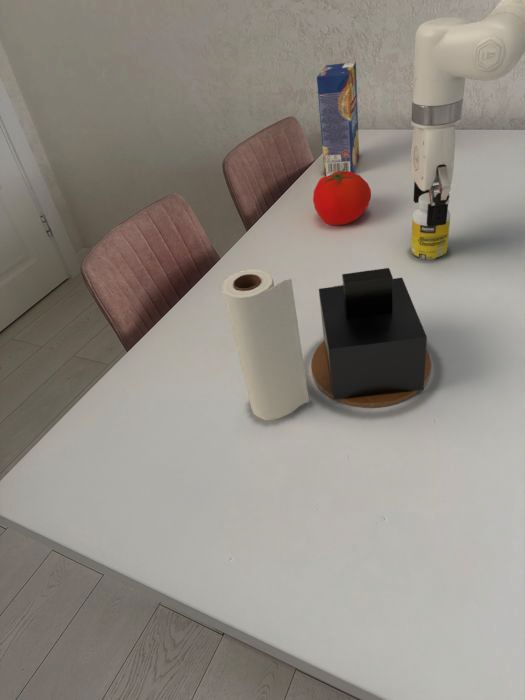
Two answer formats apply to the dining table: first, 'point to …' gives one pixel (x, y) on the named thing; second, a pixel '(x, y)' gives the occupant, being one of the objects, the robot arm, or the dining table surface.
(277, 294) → the paper towel roll
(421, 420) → the dining table surface
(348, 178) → the tomato
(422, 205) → the pill bottle
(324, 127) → the juice carton
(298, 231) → the dining table surface
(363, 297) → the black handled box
